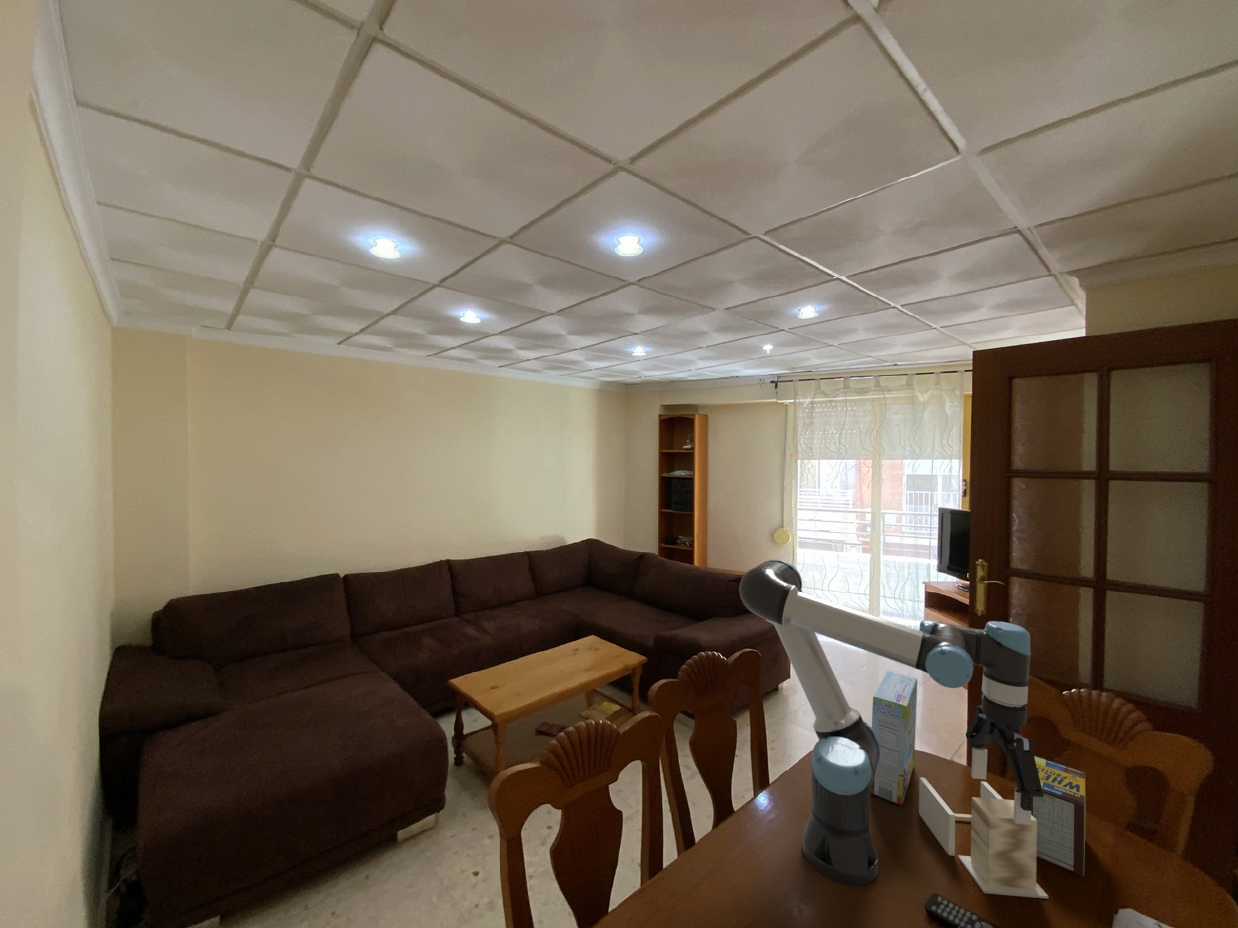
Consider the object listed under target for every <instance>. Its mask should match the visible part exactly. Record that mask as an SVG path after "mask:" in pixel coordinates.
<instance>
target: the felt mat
mask: <svg viewBox="0 0 1238 928" xmlns="http://www.w3.org/2000/svg"><path fill="white" fill-rule="evenodd" d="M957 859H959V861H960V862H961V864H962V865H963V867H964V868H965V870H967V872H968V873H969V875H970V876H971V877H972V878H973V880H974V881H975V883H976V884H977V885H978V886H979V888H980V889H981V891H982V892H983V894H989V895H990V894H991V895H1001V896H1014V897H1023V898H1035V899H1036V898H1039V899H1047V900H1049V895H1048V894H1047V892H1045V890H1044V889H1043V888H1042V887H1041V886H1040V885H1039V884H1038V883H1037V882H1036V889H1026V888H1015V887H1004V886H993V885H988V884H987V883H986V881H985V880H984V879H983V877H982V876H981V875H980V873H979V872H978V871H977V869H976V868H975V867H974V865H973V864H972V863H971V855H970V856H969V855H959V854H958V857H957Z"/></svg>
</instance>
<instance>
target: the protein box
mask: <svg viewBox="0 0 1238 928" xmlns="http://www.w3.org/2000/svg"><path fill="white" fill-rule="evenodd" d="M1034 758H1035V762H1036V766H1037V770H1038V774H1039V778H1040V782H1041V787H1042V791H1043V795H1044V796H1043V797H1033V809H1032V811H1031V815H1032V816H1033V817H1034V818H1035V819H1036V820H1037V858H1038V859H1040V860H1043V861H1045V862H1048V863H1050V864H1053V865H1055V866H1058V867H1060V868H1061V869H1064V870H1066V871H1070V872H1072V873H1073V874H1076V875H1078V876H1080V877H1085V856H1086V855H1085V853H1086V852H1085V850H1086V807H1087V806H1086V805H1087V804H1086V803H1087V802H1086V799H1087V797H1086V795H1087V794H1086V772H1085V771H1082V770H1080V769H1077V768H1076V769H1075V768H1074V767H1073V768H1072V767H1070V766H1067V765H1063V764H1060V763H1057V762H1054V761H1050V760H1047V759H1045V758H1042V757H1038V756H1035V755H1034ZM1023 785H1024V784H1023Z"/></svg>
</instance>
